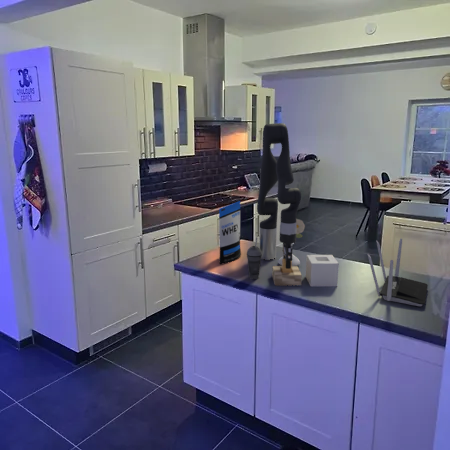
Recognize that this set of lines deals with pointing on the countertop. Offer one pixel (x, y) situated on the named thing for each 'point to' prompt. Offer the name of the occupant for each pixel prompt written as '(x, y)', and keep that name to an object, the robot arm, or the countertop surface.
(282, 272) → the plug
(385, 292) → the wireless router
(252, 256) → the beverage cup
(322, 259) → the white square socket block
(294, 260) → the flower in vase
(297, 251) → the countertop surface
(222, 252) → the protein powder
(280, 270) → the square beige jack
